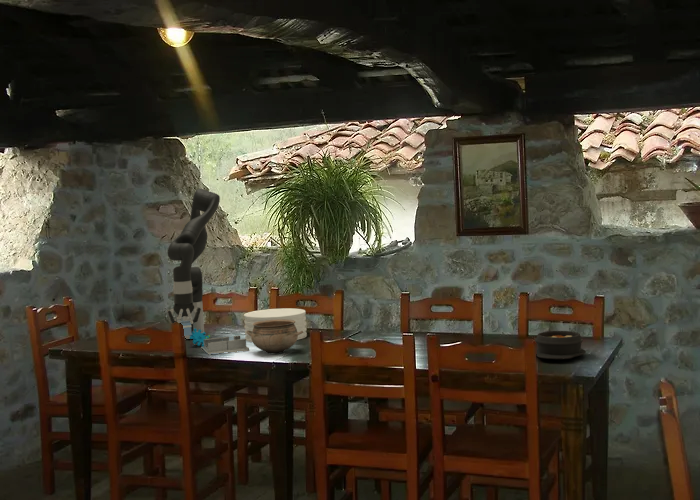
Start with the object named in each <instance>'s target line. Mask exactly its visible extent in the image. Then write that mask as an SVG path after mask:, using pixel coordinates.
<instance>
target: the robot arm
mask: <svg viewBox="0 0 700 500" xmlns="http://www.w3.org/2000/svg"><path fill="white" fill-rule="evenodd" d="M220 200H221V197H220V195H219V194H218V193H215V192H213V191H209V190H206V189H203V188H198V189H196V190H195V192H194V193H193V196H192V203H191V209H190V219H189V221H188V222H186V224H185V225H184V227H183V228H182V231H181V232H180V234H179V235H178V236H177V237H176V238H175V239H174V240H172V242H171V243H170V244H169V246H168V248H167V257H168V258H169V259H170V260H171V261H178V262H179V261H180V264H179V266H175V267H174V268H173V269H172V270H173V271H172V273H173V274H172V275H173V285H172V287H173V307H172V308H171V309H167V310H166V312H167V315H168V317H169V320H170V322H171V324H172V323H174V322H178V323H180V321H182V320H183V321H189V322H190V323H191V326H192V327H191V333H192V332H194V328H195V329H197V331H196V332H198V330H199V329H200V330H202V331H201V332H200V333H203V332H205V323H204V309H203V308H204V306H203V272H202V269H201V267H199V266H192V265H193V264H194V262H195V261H196V260H197V259H198V258H199V257H200V256H201V255H202V253H203V252H204V251H205V249H206V245H207V241H208V232H207V229H206V226H207V224H208V223H209V221H210V220H211V219H212V217H213V216H214V215H215V213H216V212H217V210H218V208H219V205H220V202H221V201H220ZM201 212H203V213H201ZM174 313H175V314H176V320H175V318H174ZM194 333H195V332H194ZM185 338H186V339H190V335H187V336H185ZM186 339H185V340H186Z"/></svg>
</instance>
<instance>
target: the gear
mask: <svg viewBox="0 0 700 500" xmlns="http://www.w3.org/2000/svg"><path fill="white" fill-rule="evenodd" d="M196 331H197V329H195V328H194V332H195V333H194V332H192V333H191V334H192V335H190V339H193V340H191V341H192V343H193V344H196V345H197V346H198V347H200V346H201V347H202V346H204V339H211V334H208V335H206V334H207V333H206V332H205V331H204V332H203V333H200V332H201V331H202V330H200V329H199V330H198V332H196Z"/></svg>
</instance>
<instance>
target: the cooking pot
mask: <svg viewBox="0 0 700 500" xmlns="http://www.w3.org/2000/svg"><path fill="white" fill-rule="evenodd" d="M294 323H295V321H294V320H286V319H279V320H266V321H259V322H255V323H253V326H254V328H253V331H249V330H248V331H247V332H246V333H247V334H248V335H249V336H251V338H252V342H251V343H252V344H253V345H254V346H255V347H256V348H258V349H259V350H261V351H262V352H265V353H267V354H269V355H271V354H272V355H278V354H282V353H284V352H286V351H287V350H289V349H290V348H292V347H293V346H294V345H295V344H296V343H297V338H298V335H300V334H302V333H303V331H300V332H297V329H296V327H295V325H294Z"/></svg>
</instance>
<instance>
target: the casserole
mask: <svg viewBox="0 0 700 500" xmlns="http://www.w3.org/2000/svg"><path fill="white" fill-rule="evenodd" d="M534 342H536V345H537V348H536V349H537V355H536V357H538V358H539V359H548V360H562V361H563V360H564V361H565V360H571V359H574V358H575V359H576V358H577V357H579V356H583V355H584V354H586V353H587V351H586V350H585V349H584V348H582V347H581V345H582V343H583V342H584V339H583V338H582V336H581V334H580V333H579V332H576V331H572V330H571V331H570V330H569V331H568V330H550V331H548V330H547V331H542V332H538V333H537V334H536V337H535V339H534Z"/></svg>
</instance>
